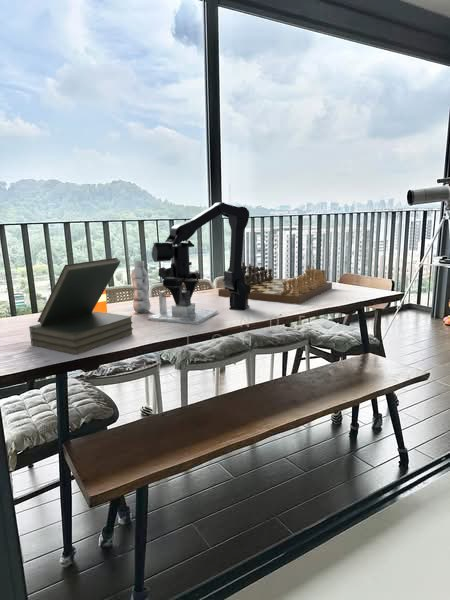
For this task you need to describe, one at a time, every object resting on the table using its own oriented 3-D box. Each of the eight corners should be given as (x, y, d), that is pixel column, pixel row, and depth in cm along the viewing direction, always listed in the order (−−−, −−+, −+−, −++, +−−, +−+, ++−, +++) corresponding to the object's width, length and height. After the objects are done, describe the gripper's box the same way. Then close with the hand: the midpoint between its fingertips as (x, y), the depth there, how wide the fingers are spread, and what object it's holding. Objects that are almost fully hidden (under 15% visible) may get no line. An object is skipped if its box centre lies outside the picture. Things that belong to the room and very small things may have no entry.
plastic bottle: (147, 314, 161) (144, 262, 157) (130, 314, 162) (127, 262, 158) (153, 310, 167) (150, 260, 163) (137, 310, 168) (134, 260, 164)
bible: (90, 328, 144) (84, 255, 139) (133, 335, 135) (128, 257, 129) (31, 346, 125) (21, 263, 120) (76, 356, 115) (67, 265, 110)
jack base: (218, 312, 161) (217, 289, 159) (197, 324, 144) (196, 298, 142) (172, 309, 168) (171, 287, 166) (147, 320, 152) (146, 295, 150)
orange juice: (96, 312, 166) (92, 262, 162) (108, 316, 160) (103, 263, 156) (77, 316, 161) (72, 264, 157) (88, 319, 154) (83, 265, 150)
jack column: (191, 312, 157) (190, 290, 155) (186, 314, 153) (185, 292, 152) (181, 311, 159) (180, 290, 157) (175, 313, 155) (174, 292, 153)
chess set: (331, 289, 205) (332, 259, 202) (299, 305, 172) (299, 270, 169) (259, 284, 227) (259, 256, 224) (218, 297, 194) (217, 265, 191)
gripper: (174, 256, 163) (176, 296, 167) (148, 262, 147) (151, 305, 150) (200, 257, 159) (201, 297, 162) (176, 263, 142) (178, 307, 146)
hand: (183, 301), depth 155 cm, fingers open, 9 cm apart
